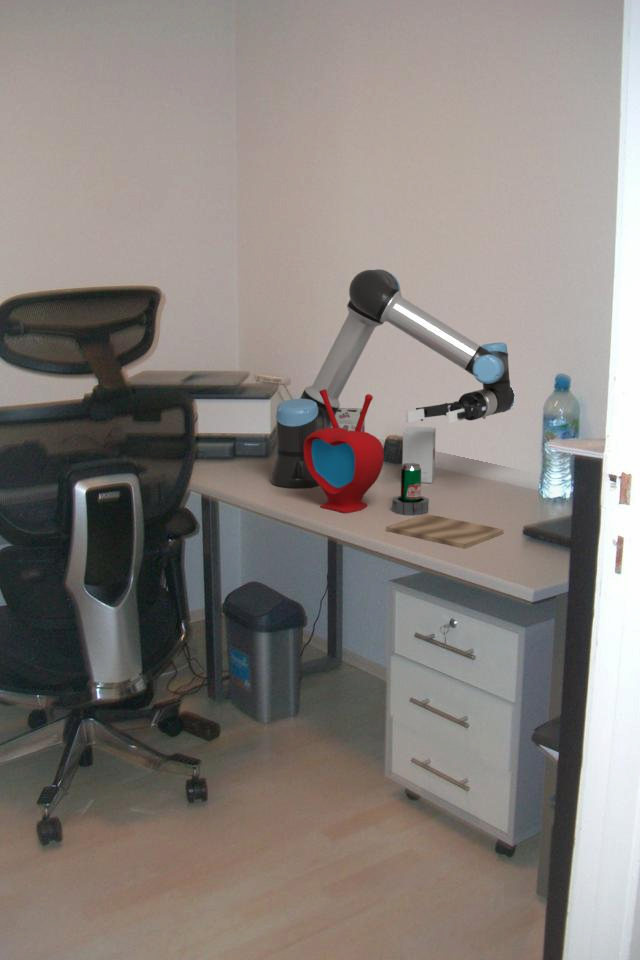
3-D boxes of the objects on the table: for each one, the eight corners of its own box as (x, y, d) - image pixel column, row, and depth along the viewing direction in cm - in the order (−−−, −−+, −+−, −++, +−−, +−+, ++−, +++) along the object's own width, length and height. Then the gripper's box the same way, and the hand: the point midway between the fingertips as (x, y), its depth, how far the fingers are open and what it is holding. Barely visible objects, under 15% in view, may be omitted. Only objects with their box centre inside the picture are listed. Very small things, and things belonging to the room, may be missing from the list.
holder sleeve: (385, 511, 242) (385, 499, 241) (406, 504, 248) (406, 493, 248) (414, 517, 236) (414, 505, 235) (435, 510, 242) (435, 498, 242)
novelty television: (299, 504, 249) (298, 390, 242) (333, 496, 258) (333, 385, 251) (358, 518, 234) (359, 397, 228) (392, 509, 243) (393, 392, 237)
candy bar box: (365, 458, 309) (365, 408, 306) (361, 461, 305) (361, 410, 301) (332, 456, 312) (332, 406, 309) (327, 459, 308) (327, 409, 304)
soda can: (407, 514, 239) (408, 467, 236) (396, 509, 243) (397, 463, 241) (424, 511, 241) (425, 465, 238) (413, 507, 245) (414, 461, 243)
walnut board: (386, 530, 224) (386, 526, 224) (425, 517, 235) (426, 513, 235) (465, 548, 209) (465, 544, 209) (503, 533, 221) (503, 529, 221)
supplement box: (432, 483, 272) (433, 432, 269) (401, 482, 274) (402, 431, 271) (435, 477, 281) (436, 427, 278) (405, 475, 283) (405, 426, 280)
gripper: (516, 418, 252) (467, 433, 237) (442, 418, 270) (392, 431, 255) (513, 390, 250) (464, 403, 236) (439, 391, 268) (389, 403, 254)
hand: (427, 417), depth 246 cm, fingers open, 13 cm apart
